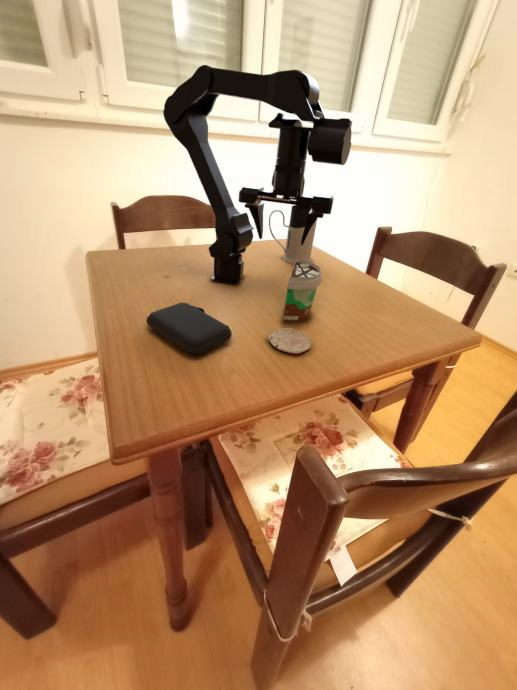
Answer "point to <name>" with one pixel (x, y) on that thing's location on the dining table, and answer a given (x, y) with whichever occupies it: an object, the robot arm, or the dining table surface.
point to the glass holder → (297, 235)
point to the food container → (301, 291)
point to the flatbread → (290, 340)
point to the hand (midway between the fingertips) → (281, 241)
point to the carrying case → (189, 328)
